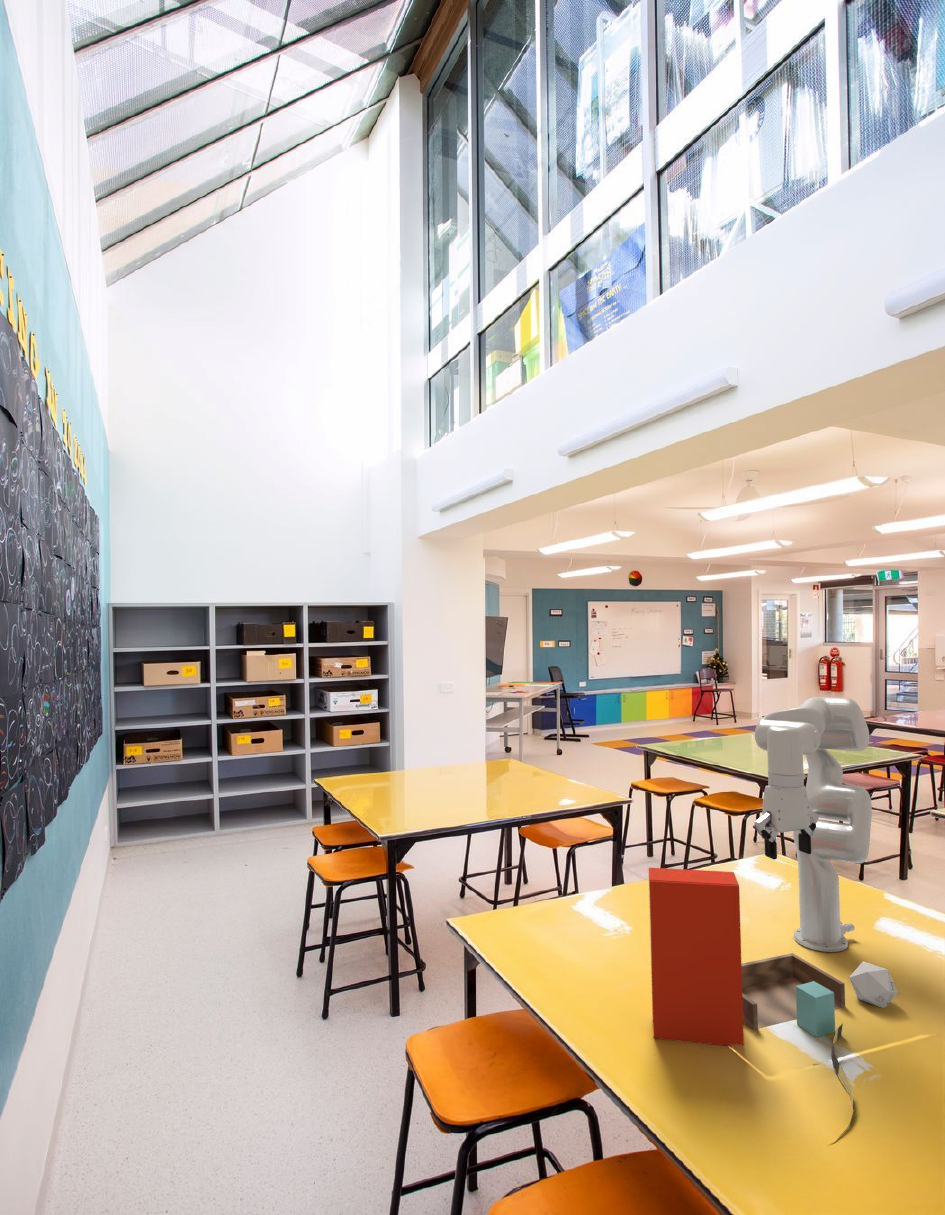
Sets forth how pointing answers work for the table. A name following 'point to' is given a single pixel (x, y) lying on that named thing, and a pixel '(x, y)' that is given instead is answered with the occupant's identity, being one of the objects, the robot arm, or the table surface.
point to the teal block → (815, 1009)
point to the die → (873, 984)
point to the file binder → (696, 956)
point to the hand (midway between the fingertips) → (788, 855)
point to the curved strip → (841, 1073)
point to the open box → (780, 988)
